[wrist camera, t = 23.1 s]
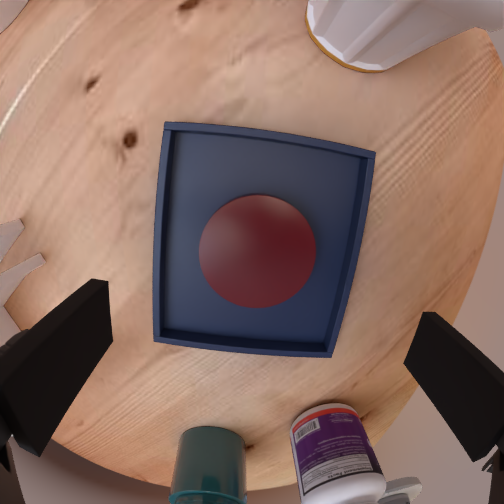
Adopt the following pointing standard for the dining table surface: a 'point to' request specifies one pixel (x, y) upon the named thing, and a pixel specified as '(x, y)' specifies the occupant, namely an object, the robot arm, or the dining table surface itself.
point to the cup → (393, 27)
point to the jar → (209, 468)
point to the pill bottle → (335, 457)
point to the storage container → (12, 276)
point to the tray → (245, 182)
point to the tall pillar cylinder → (10, 11)
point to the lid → (257, 250)
